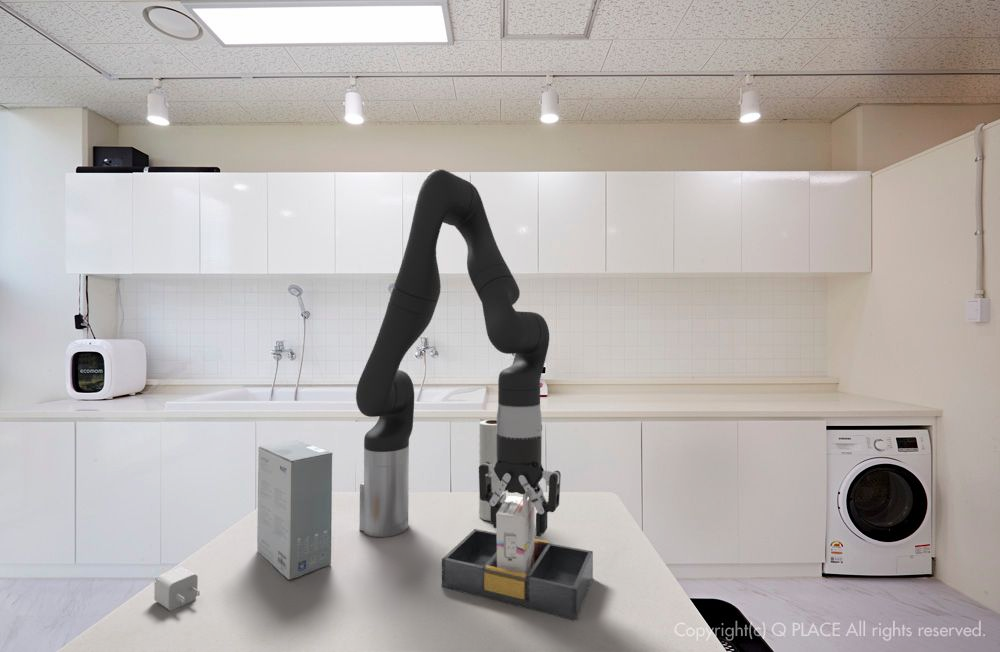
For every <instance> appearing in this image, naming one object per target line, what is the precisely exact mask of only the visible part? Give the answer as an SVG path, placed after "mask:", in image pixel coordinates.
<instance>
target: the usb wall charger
mask: <svg viewBox="0 0 1000 652" xmlns="http://www.w3.org/2000/svg"><path fill="white" fill-rule="evenodd" d="M168 572H169V573H168ZM167 573H168V574H167ZM165 574H166V575H165ZM158 579H159V580H158ZM198 580H199V579H198V575H197V574H196V573H193V572H192V571H190V570H188V569H186V568H185V567H183V566H178V567H176V568H174V569H172V570H169V571H166V572H163V573H162V574H161V573H160V574H159V575H158V576H156V577H155V580H154V598H153V599H154V601H155V602H157V603H158V604H160V605H161V606H163V607H164V608H166V609H167V610H169V611H173V610H175V609H177V608H180V607H182V606H184V605H186V604H188V603H190V602H193V601H195V600H196V598H197V597H198V596H199V597H200V596H201V594H200V593H201V591H200V590H199V589H198V583H199V581H198ZM155 581H156V582H155Z"/></svg>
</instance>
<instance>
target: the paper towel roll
mask: <svg viewBox="0 0 1000 652" xmlns="http://www.w3.org/2000/svg"><path fill="white" fill-rule="evenodd" d="M478 424H479V425H478V426H479V427H478V431H479V433H478V434H479V435H478V441H479V443H478V447H479V449H478V450H479V451H478V454H479V455H478V459H479V460H478V467H479V466H480V465H482V464H484V463H485V462H490V464H496V462H497V457H496V446H497V419H486V418H485V419H483V418H480V420H479V423H478ZM491 482H492V493H494V492H495V490H496V488H497V487H498V485H499V483H500V480H499V478H498V477H497V475H496V473H495V471H494V474H493V475H492V476H491ZM506 495H507V493H505V494H504V496H503V498H502V499H501V501H500V503H502V505H503V503H504V502H505V500H506V499H507V497H506ZM478 516H479V518H480V519H481V520H484V521H489V522H491V521H490V520H491V506H490V504H489V503H488V502H487V501H482V500H481V499H480V490H479V489H478Z"/></svg>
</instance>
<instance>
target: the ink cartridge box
mask: <svg viewBox="0 0 1000 652" xmlns="http://www.w3.org/2000/svg"><path fill="white" fill-rule="evenodd" d="M495 529H496V533H497V567H498V568H503V569H507V570H512V571H516V572H521V573H525V574H528V573H529V571H530V570H531V568H532V567H533V565H534V539H535V506H534V504H533V502H531V501H530V499H529V497H528V495H527V493H526V492H525V494H524V495H523V494H522V496H517V495H516V496H515V495H514V496H513V495H508V496H507V497H506V500H505V502H504V503H503V505H502V506H501V507H500V509H499V510H498V512H497V513H496V528H495Z"/></svg>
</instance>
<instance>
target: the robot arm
mask: <svg viewBox="0 0 1000 652" xmlns="http://www.w3.org/2000/svg"><path fill="white" fill-rule="evenodd" d="M443 223H444V224H446V225H449V226H453V227H455V228H456V230H457V231H458V232H459V233H460V235H461V236H462V238H463V239H464V241H465V243H466V247H467V255H466V256H467V258H466V268H467V272H468V276H469V280H470V281H471V284H472V285H473V287H474V290H475V291H476V294H477V296H478V298H479V300H480V302H481V305H482V313H483V317H484V324H485V330H486V335H487V337H488V339H489V342H490V343H491V345H493V347H494V348H495V349H496V350H497V351H499V352H501V353H503V354H508V355H509V354H510V355H514V358H513V362H512V364H511V365H510V366H509V367H507V368H504V369H503V370H501V371H500V372H499V375H498V380H497V382H498V383H497V384H498V385H497V386H498V387H497V388H498V389H497V390H498V394H497V395H498V396H497V398H498V400H497V401H498V402H497V403H498V404H497V412H496V420H497V446H496V457H497V462H496V464H490V462H485V463H484V464H482V465H480V466H479V465H478V491H479V490H480V499H481V500H482V501H487V502H488V503H489V504H490V506H491V520H490V521H489V522H491V523H490V524H491V525H493V529H496V513H497V512H498V510H499V509H500V507H501V506H502V503H500V501H501V499H502V498H503V496H504V494H505V493H506V492H507V493H511V494H512V493H513V494H515V493H517V494H520V495H522V496H523V495H524V494H525V492H526V493H527V495H528V498H529V499H530V501H531V502H533V504H534V509H535V511H537V512H536V513H535V537H539V538H541V537H543V535H544V533H546V531H547V529H548V513H554V512H555V511H556V510H557V508H558V507H559V506H560V494H561V472H560V471H559V470H554V471H549V470H544V467H543V465H542V441H543V440H542V439H543V438H542V436H543V435H542V431H543V424H542V423H543V421H542V420H543V419H542V411H541V377H542V373H543V370H544V366H545V363H546V358H547V354H548V349H549V345H550V344H549V343H550V330H549V327H548V326H549V325H548V323H547V321H546V320H545V319H546V318H544V317H543V316H542V315H541V314H539V313H538V312H534V311H518V310H517V311H516V309H515V308H514V305H515V304H516V303H517V302H518V300H519V298H520V294H521V291H520V288H519V285H518V283H517V281H516V279H515V277H514V276H513V273H512V272H511V269H510V268H509V266H508V265H507V263H506V260H505V259H504V257H503V255H502V253H501V251H500V249H499V247H498V244H497V242H496V239H495V237H494V233H493V231H492V228H491V224H490V222H489V218H488V216H487V213H486V210H485V207H484V203H483V200H482V197H481V195H480V192H479V191H478V189H477V187H476V186H475V185H474V184H472V183H471V182H470V181H469V180H467V179H464V178H461V177H459V176H458V175H456V174H454V173H452V172H450V171H447V170H446V169H442V168H437V169H436V168H435V169H433V170H432V171H431V172H429V173H428V174H427V175H426V176H425V179H423V182H422V183H421V186H420V189H419V191H418V195H417V198H416V202H415V206H414V212H413V216H412V221H411V226H410V230H409V236H408V238H407V239H408V240H407V243H406V247H405V250H404V253H403V257H402V260H401V264H400V267H399V270H398V273H397V276H396V279H395V281H394V283H393V287H392V291H391V293H390V297H389V300H388V302H387V303H388V304H387V307H386V311H385V314H384V317H383V320H382V323H381V326H380V328H379V331H378V333H377V334H378V335H377V336H376V340H375V343H374V345H373V348H372V350H371V353H370V355H369V357H368V359H367V361H366V363H365V366H364V368H363V371H362V372H361V375H360V378H359V380H358V382H357V385H356V390H355V391H356V392H355V400H356V401H355V402H356V406H357V408H358V410H359V412H360V413H361V414H362V415H364V416H365V417H368V418H369V417H370V418H378V417H379V418H378V419H377V422H376V424H375V425H374V426H373V427H372V428H371V429H369V430H368V431H367V432H366V433H365V435H364V437H363V438H364V439H363V482H361V483H360V484H359V530H361V531H363V532H364V534H366V535H367V536H370V537H373V538H386V537H393V536H397V535H399V534H402V533H404V532H405V531H407V530H408V528H409V501H410V500H409V491H410V490H409V489H410V488H409V484H410V482H409V477H410V476H409V475H410V474H409V473H410V472H409V471H410V470H409V469H410V465H409V464H410V463H409V461H410V460H409V459H410V457H409V456H410V437H411V436H412V432H413V428H414V416H415V415H414V411H415V387H414V384H413V380H412V378H411V377H410V375H409V374H408V373H407V372H405V371H403V370H401V369H399V367H400V365H401V363H402V361H403V359H404V357H405V356H406V354H407V352H408V351H409V350H410V349H411V348H412V346H414V344H415V343H416V342H417V341H418V339H419V338H420V337H421V336H422V334H423V333H424V332H425V330H426V329H427V328H428V327H429V325H430V323H431V321H432V319H433V316H434V314H435V310H436V308H437V304H438V302H439V300H440V296H441V287H442V286H441V285H442V284H441V278H440V271H439V266H438V260H437V245H438V239H439V235H440V232H441V228H442V225H443ZM494 471H495V473H496V475H497V477H498V478H499V480H500V483H499V485H498V487H497V488H496V490H495V492H494V493H492V482H491V476H492V475H493V474H494ZM542 479H544V480H545V484H546V486H548V496H547V497H548V499H546V497H545V496H544V490H543V489H542V487H541V485H540V482H541V481H542ZM507 493H506V494H507ZM547 500H548V501H547Z"/></svg>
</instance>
